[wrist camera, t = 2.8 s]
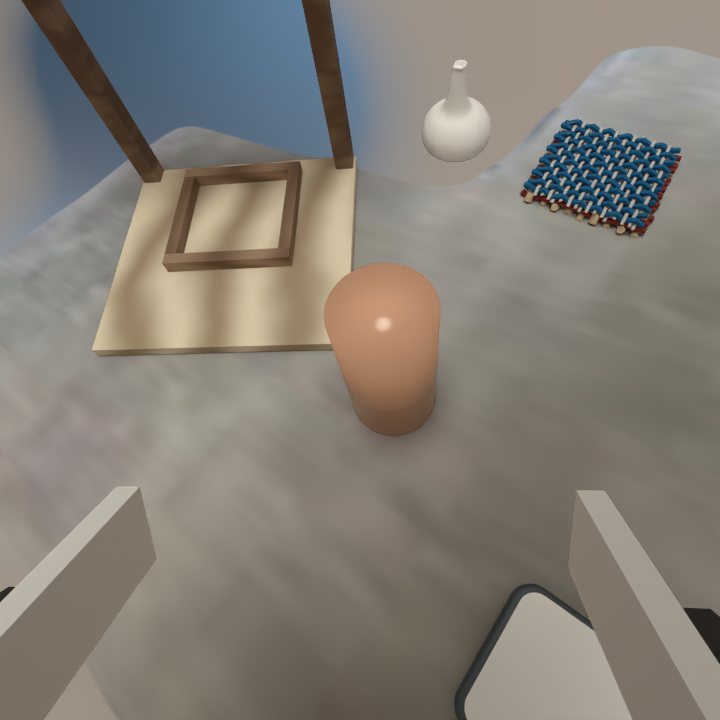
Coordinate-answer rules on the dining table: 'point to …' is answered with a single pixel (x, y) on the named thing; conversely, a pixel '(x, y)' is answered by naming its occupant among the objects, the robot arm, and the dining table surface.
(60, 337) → the dining table surface
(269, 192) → the wooden c-frame stand
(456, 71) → the garlic bulb
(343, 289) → the tan cylinder
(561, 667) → the phone case
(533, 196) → the woven mat
